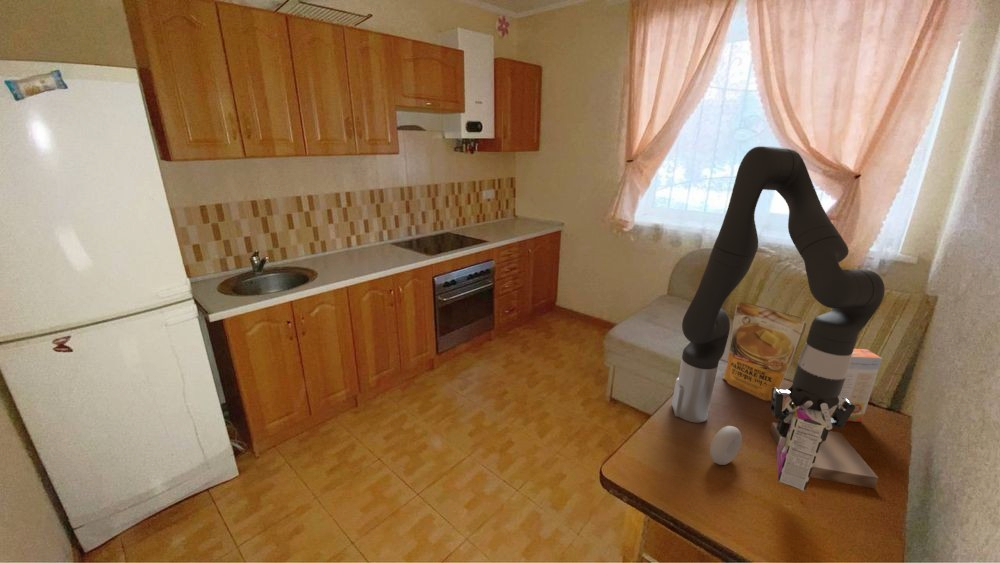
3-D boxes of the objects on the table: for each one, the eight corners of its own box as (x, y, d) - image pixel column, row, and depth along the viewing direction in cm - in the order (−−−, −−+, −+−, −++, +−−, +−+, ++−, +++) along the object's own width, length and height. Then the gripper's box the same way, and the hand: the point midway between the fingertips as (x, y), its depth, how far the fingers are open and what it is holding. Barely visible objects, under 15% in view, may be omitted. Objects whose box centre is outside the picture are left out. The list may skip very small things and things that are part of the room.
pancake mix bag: (725, 373, 139) (741, 298, 130) (786, 400, 124) (809, 317, 115) (715, 378, 135) (730, 302, 126) (776, 407, 120) (799, 323, 111)
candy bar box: (774, 449, 91) (792, 389, 86) (801, 458, 89) (821, 396, 83) (775, 482, 82) (796, 416, 77) (805, 493, 80) (828, 426, 74)
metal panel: (795, 474, 95) (798, 464, 94) (769, 431, 109) (772, 422, 108) (874, 488, 91) (878, 477, 90) (837, 441, 106) (840, 432, 105)
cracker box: (846, 410, 119) (867, 348, 112) (862, 423, 113) (885, 358, 107) (797, 407, 120) (815, 345, 114) (810, 419, 114) (829, 355, 108)
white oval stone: (727, 450, 102) (734, 417, 99) (740, 458, 99) (748, 425, 96) (703, 464, 97) (710, 430, 94) (716, 474, 94) (724, 439, 91)
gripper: (788, 371, 76) (767, 443, 81) (877, 383, 72) (849, 457, 78) (773, 353, 82) (755, 420, 88) (854, 363, 79) (830, 432, 84)
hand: (799, 437), depth 83 cm, fingers closed on candy bar box, 6 cm apart
